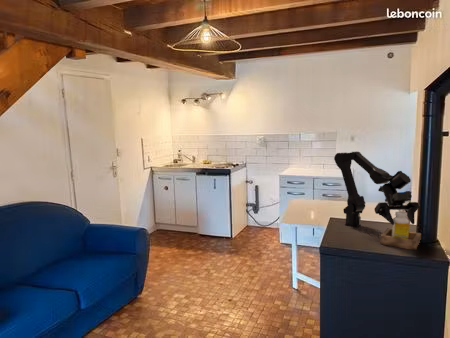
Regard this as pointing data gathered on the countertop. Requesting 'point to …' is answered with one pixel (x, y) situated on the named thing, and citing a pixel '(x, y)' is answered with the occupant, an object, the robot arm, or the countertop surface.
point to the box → (401, 240)
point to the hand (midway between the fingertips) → (403, 224)
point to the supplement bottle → (400, 225)
